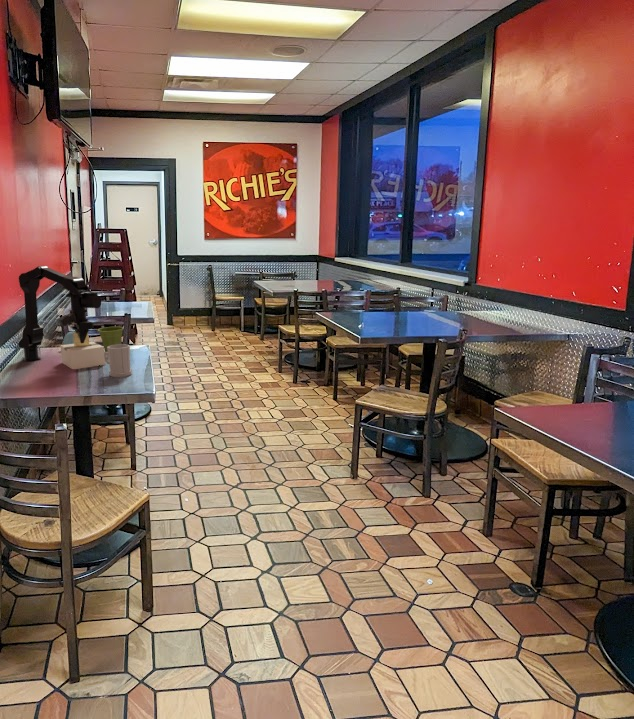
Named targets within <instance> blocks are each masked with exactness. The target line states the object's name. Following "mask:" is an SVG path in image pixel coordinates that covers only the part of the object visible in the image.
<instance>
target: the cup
mask: <svg viewBox="0 0 634 719" xmlns="http://www.w3.org/2000/svg"><path fill="white" fill-rule="evenodd" d="M107 350H108V352H105V351H104V358H105V364H107V365H109V371H108V372H109V376H110V377H111V378H124V377H126V378H127V377H129V376H131V375H132V374H133V372H132V369H131V363H130V362H131V360H130V359H131V358H130V356H131V352H130V350H131V346H130V345H129V344H124V343H123V344H122V343H121V344H118V345H111V346H108V347H107Z"/></svg>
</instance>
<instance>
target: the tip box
mask: <svg viewBox="0 0 634 719" xmlns="http://www.w3.org/2000/svg"><path fill="white" fill-rule="evenodd" d="M59 347H60V354H61V355H60V356H61V363H62V365H63V364H64V366H67V367H68V368H70V369H71V370H79V369H85V368H92V367H98V366H99V365H100V366H105V365H106V362H105V358H104V353H105V350H104V346H103V345H101V344H99V343H98V342H97V343H96V342H94V341H89V345H86V346H78V347H75V346H74V344H67V345H64V344H61V345H60V346H59ZM100 366H99V367H100Z"/></svg>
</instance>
